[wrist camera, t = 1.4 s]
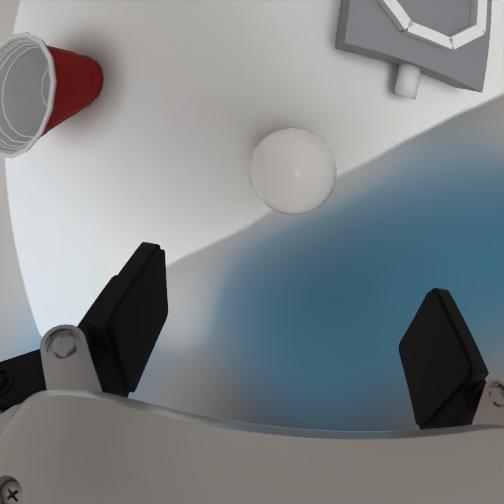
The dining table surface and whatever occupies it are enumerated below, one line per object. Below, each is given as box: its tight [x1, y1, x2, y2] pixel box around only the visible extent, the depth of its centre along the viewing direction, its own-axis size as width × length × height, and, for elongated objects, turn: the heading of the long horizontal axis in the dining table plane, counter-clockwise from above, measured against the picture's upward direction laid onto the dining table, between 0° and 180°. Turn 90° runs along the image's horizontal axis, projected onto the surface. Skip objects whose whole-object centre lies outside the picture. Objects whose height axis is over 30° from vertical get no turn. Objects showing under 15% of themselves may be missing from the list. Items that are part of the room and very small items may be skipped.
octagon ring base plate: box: [335, 0, 492, 100], centre depth 17 cm, size 18×13×6 cm
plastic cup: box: [0, 32, 103, 158], centre depth 21 cm, size 11×11×12 cm
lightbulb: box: [249, 128, 337, 215], centre depth 24 cm, size 6×6×11 cm
